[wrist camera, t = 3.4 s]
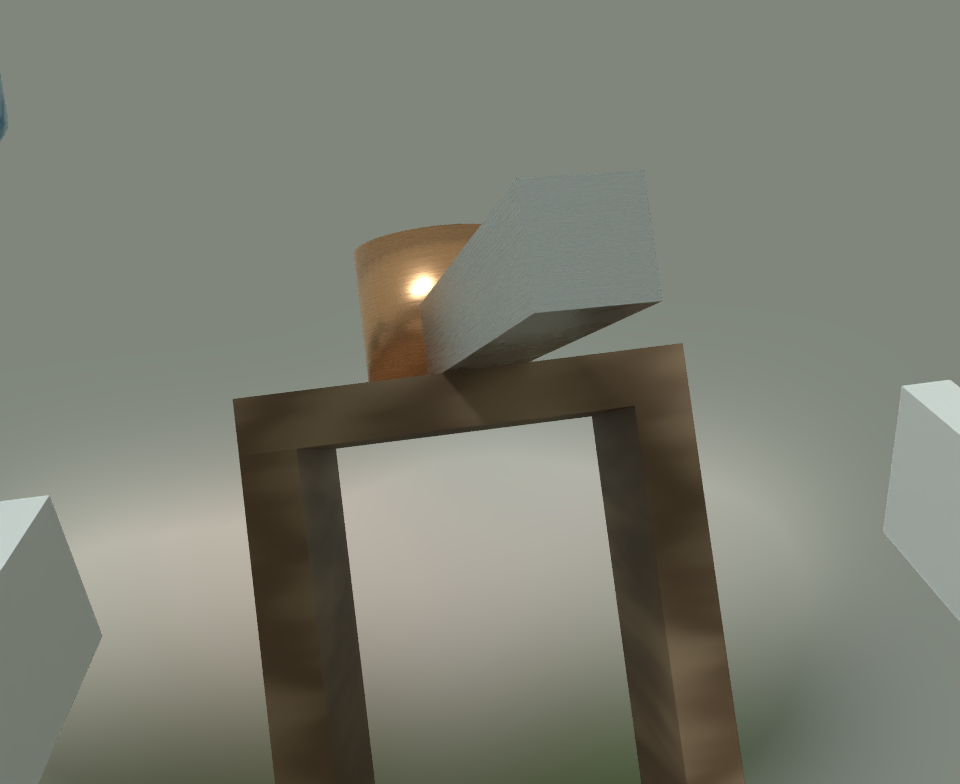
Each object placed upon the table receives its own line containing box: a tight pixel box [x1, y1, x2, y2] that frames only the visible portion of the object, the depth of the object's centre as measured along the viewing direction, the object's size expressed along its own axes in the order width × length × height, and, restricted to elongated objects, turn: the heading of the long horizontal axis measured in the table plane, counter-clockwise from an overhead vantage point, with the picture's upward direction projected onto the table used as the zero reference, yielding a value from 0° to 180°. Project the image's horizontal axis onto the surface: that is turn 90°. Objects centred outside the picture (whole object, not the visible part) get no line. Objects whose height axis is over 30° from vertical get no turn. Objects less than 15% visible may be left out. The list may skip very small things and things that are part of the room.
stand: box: [233, 343, 745, 784], centre depth 35 cm, size 16×10×30 cm, turn 92°
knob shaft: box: [354, 171, 662, 382], centre depth 30 cm, size 7×22×6 cm, turn 12°
